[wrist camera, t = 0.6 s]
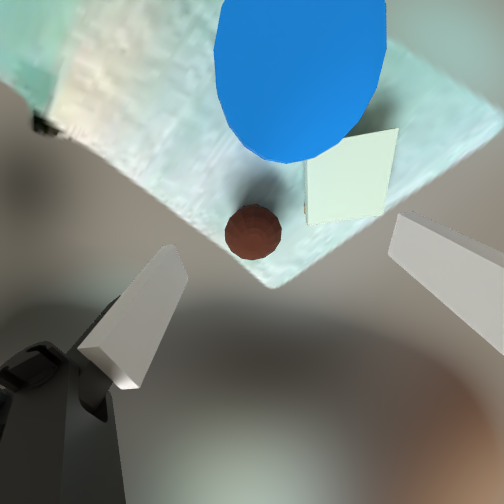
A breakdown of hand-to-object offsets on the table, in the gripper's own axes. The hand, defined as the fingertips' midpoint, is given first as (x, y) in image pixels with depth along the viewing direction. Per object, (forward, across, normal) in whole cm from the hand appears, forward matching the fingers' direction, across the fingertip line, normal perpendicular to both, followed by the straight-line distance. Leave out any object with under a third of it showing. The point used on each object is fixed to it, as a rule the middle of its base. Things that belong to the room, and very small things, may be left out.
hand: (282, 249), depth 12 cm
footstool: (+30, +15, -3) cm, 34 cm away
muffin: (+31, -3, -11) cm, 33 cm away
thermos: (+31, +2, +8) cm, 32 cm away
